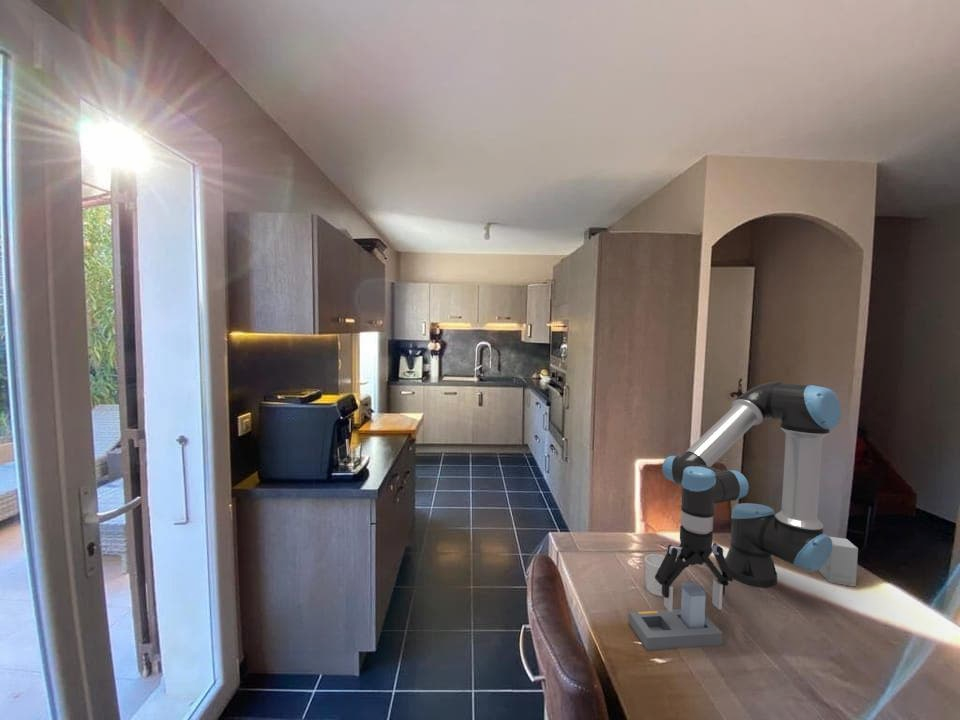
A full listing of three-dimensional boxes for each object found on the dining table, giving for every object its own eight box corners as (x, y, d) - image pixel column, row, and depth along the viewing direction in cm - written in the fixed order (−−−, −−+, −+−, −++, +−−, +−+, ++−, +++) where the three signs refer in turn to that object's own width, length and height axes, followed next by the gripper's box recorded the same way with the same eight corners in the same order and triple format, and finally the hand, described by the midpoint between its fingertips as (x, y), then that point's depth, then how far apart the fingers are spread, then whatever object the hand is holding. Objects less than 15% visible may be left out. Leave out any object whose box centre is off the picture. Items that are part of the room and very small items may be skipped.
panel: (697, 621, 117) (698, 607, 117) (722, 648, 107) (723, 632, 107) (628, 626, 115) (628, 611, 115) (646, 653, 105) (647, 637, 105)
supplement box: (856, 587, 134) (859, 548, 134) (828, 583, 137) (830, 544, 136) (845, 575, 141) (847, 538, 141) (818, 571, 144) (820, 534, 143)
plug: (694, 626, 114) (696, 583, 113) (703, 636, 110) (705, 592, 109) (680, 627, 113) (682, 583, 113) (689, 637, 109) (691, 592, 109)
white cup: (674, 601, 126) (675, 569, 125) (646, 598, 127) (647, 565, 127) (668, 586, 134) (669, 555, 133) (641, 583, 135) (643, 552, 135)
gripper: (731, 520, 115) (727, 596, 116) (643, 522, 112) (640, 600, 113) (751, 533, 108) (747, 614, 109) (658, 536, 105) (654, 619, 106)
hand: (692, 607), depth 111 cm, fingers open, 13 cm apart
